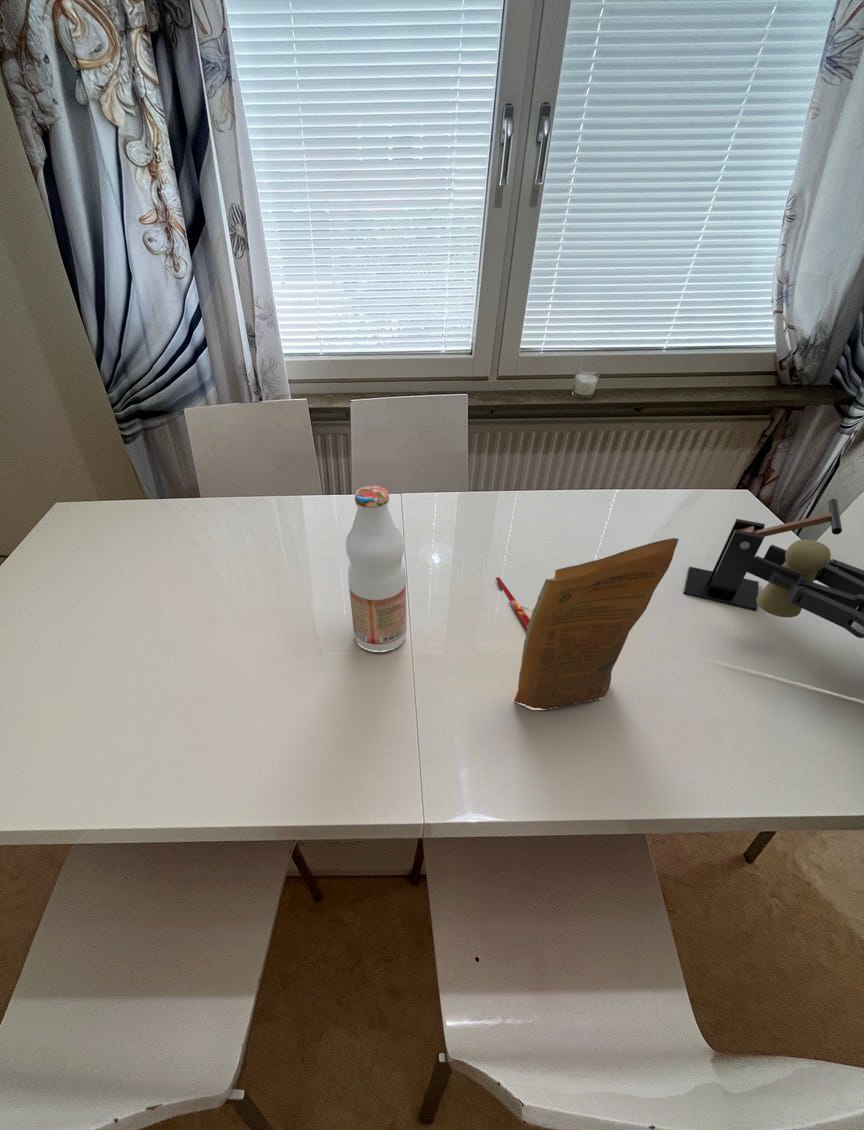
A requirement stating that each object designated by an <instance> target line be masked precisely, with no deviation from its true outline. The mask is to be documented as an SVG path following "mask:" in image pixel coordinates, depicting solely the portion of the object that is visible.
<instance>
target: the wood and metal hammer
mask: <svg viewBox="0 0 864 1130" xmlns="http://www.w3.org/2000/svg"><path fill="white" fill-rule="evenodd" d="M838 502H839V501H838V499H837V498H836V499H835V498H832V499H830V500H828V501H827V506H828V513H824V514H820V515H815V516H811V517H807V518H803V519H798V520H795V521H791V522H790V521H789V522H787V523H782V524H778V525H774V526H770V527H766V528H765V527H764V529H761V530H756V531H755V529H754V526H751V527H747V528H743V529H739V530H740V531H745V532H750V533H755V534H761V535H764V538H765V537H769V536H774V535H779V534H782V533H783V534H784V533H787V532H791V531H796V530H800V529H804V528H808V527H813V526H818V525H820V524H821V525H822V524H825V523H830V529H831V534H833V535H840V534H841V533H842V532H843V527H842V522H841V514H840V507H839V503H838Z"/></svg>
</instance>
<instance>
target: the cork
mask: <svg viewBox="0 0 864 1130" xmlns="http://www.w3.org/2000/svg"><path fill="white" fill-rule="evenodd" d="M786 550H787V551H786V554H785V559H786V561H785V562H784V564H783V565H782V566H783V567H785V568H788V569H790V570H792V571H794V572H797V573H800V574H802V575H806V577H805V580H808V581H811V582H815V581H814V579H815V576H816V574H817V571H818V570H820V569H822V568H823V567H825V566H826V564H827V563H828V562H829V560H831V557H832V555H831V549H830V548H829V547H828V546H826V545H825V544H824V543H822V542H820V541H817V540H813V539H798V540H796V541H794V542H792V543H791V544H790V545H789V546H788V547H787V548H786ZM790 598H791V594H790V592H789V591H788V590H785V589H783V588H781V587H779V586H776V585H774V584H772V583H770V582H768V583H767V584H766V585H765V587H764V588H763V589H762V591H760V593H759V594H758V597H757V598H756V602H757V604H758V607H759V608H760V609H761V610H763V611H764V612H766V613H768V614H770V615H772V616H776V617H779V618H795V617H797V616H799V615H800V614H801V612H802V609H803V608H801V607H798V606H796V605H794V604H792V603H790V602H789V599H790Z"/></svg>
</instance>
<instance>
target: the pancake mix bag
mask: <svg viewBox="0 0 864 1130" xmlns="http://www.w3.org/2000/svg"><path fill="white" fill-rule="evenodd" d="M679 540H680V539H679V538H676V537H671V538H667V539H662V540H658V541H653V542H649V543H646V544H643V545H640V546H639V545H638V546H636V547H633V548H630V549H626V550H624V551H623V550H622V551H621V552H618V553H615V554H611V555H609V556H606V557H602V558H599V559H595V560H591V561H587V562H583V563H580V564H575V565H571V566H570V565H569V566H566V567H562V568H558V569H555V571H554V577H549V578H546V579H545V581H544V582H543V585H542V588H541V590H540V592H539V594H538V597H537V601H536V604H535V606H534V608H533V610H532V612H531V616H530V617H529V619H530V621H529V624H528V627H527V630H526V631H525V632H526V633H525V638H524V642H523V648H522V653H521V654H522V655H521V663H520V669H519V673H518V683H517V684H518V685H517V692H516V695H515V697H514V700H513V702H514V701H515V702H518V703H522V704H525V705H527V706H530V707H533V708H541V709H550V708H555V707H560V708H562V707H561V706H565V707H567V706H566V705H570V706H572V705H571V704H574V705H576V704H575V703H579V702H584V701H589V700H595V699H599V698H602V697H603V696H604V695H605V694H606V693H607V694H608V692H607V691H609V689H610V686H611V681H612V671H613V669H614V666H615V665H616V662H617V661H618V659H619V657H620V654H621V652H622V650H623V648H624V646H625V644H626V641H627V639H628V635H629V634H630V631H631V630H632V629H633V627H634V626H635V625H636V623H637V622H638V621H639V620H640V619H641V617H642V615H643V614H644V613H645V611H646V610H647V608H648V606H649V604H650V602H651V600H652V597H653V595H654V592H655V590H656V589H657V587H658V586H659V584H660V583H661V581H662V579H663V578H664V576H665V575H666V573H667V571H668V570H669V568H670V566H671V563H672V561H673V558H674V554H675V550H676V548H677V546H678V542H679ZM607 694H606V695H607ZM606 695H605V696H606ZM605 696H604V697H605ZM604 697H603V698H604ZM603 698H602V699H603ZM595 701H596V700H595ZM589 702H590V701H589ZM584 703H585V702H584ZM579 704H580V703H579Z"/></svg>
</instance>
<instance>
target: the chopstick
mask: <svg viewBox="0 0 864 1130" xmlns="http://www.w3.org/2000/svg"><path fill="white" fill-rule="evenodd" d="M495 580H496V581H497V583H498V585H499V587H500V588H501V591H503V593H504V595H505V596H506V597H507V599H508V600H509V603H510V605H511V607H512V608H513V610H514V612H515V613H516V615H517V616H518V618H519V620H520V621H521V623H522V625H523V627H524V629H525V630H526V631H527V627H528V624H529V621H530V617H529V616H528V614H527V613H526V612H525V611H524V609H523V608H522V607H521V605H520V604H519V602H518V601H517V600H516V598H515V597H514V595H512V593H511V592H510V590H509V588H508V587H507V586H506V584H505V583H504V582H503V580H502V579H501V578H500V576H497V577H495Z"/></svg>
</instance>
